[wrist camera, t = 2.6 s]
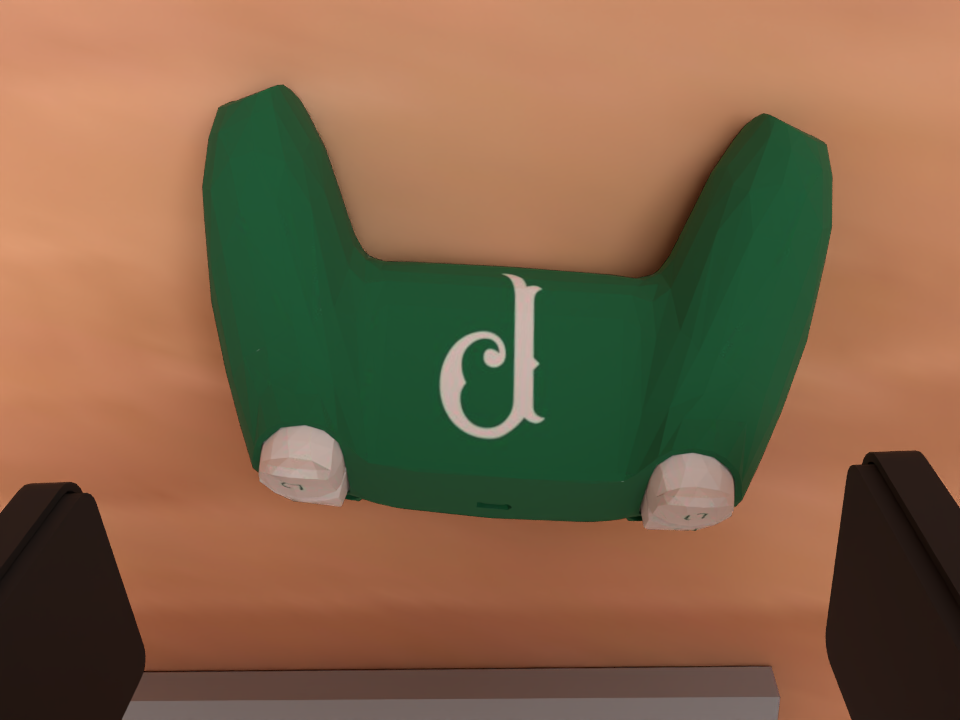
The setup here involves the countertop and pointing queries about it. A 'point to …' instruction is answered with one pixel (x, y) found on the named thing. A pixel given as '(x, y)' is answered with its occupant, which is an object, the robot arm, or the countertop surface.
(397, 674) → the slate mat
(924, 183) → the countertop surface
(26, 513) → the robot arm
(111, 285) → the countertop surface
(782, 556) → the countertop surface
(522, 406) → the gaming controller
